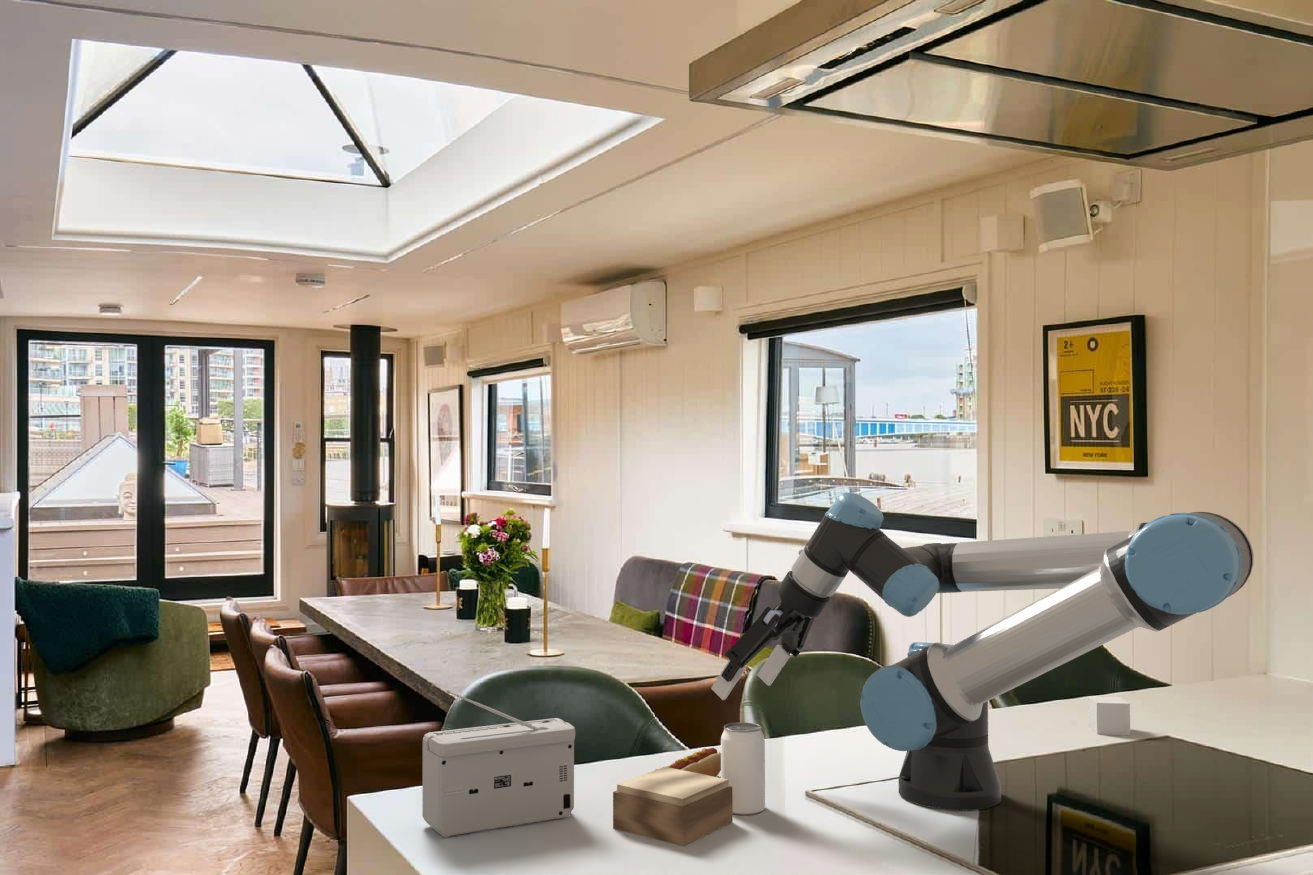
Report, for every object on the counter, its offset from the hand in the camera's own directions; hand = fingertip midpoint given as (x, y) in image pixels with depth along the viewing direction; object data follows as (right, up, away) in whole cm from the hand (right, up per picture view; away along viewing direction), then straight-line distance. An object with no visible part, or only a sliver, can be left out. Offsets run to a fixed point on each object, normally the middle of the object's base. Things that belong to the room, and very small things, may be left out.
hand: (741, 686), depth 169 cm
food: (-8, -16, -1) cm, 17 cm away
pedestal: (-11, -15, -20) cm, 27 cm away
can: (-1, -15, -13) cm, 20 cm away
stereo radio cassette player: (-36, -15, -19) cm, 43 cm away
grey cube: (+73, -17, +34) cm, 82 cm away
